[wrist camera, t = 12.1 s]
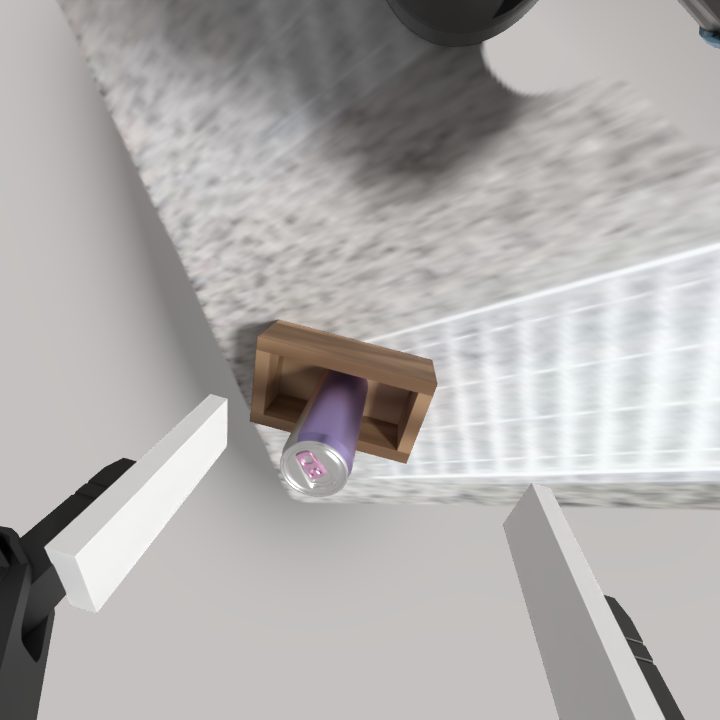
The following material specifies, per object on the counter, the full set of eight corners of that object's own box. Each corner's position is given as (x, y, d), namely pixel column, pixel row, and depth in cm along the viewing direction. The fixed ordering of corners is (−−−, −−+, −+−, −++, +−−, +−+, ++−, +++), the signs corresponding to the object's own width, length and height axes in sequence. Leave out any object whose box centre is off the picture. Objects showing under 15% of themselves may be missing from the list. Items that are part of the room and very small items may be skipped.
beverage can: (355, 353, 36) (326, 432, 23) (377, 393, 38) (362, 488, 24) (312, 371, 38) (263, 454, 24) (335, 409, 40) (301, 505, 26)
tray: (278, 319, 37) (257, 336, 31) (432, 360, 36) (437, 384, 31) (269, 395, 41) (249, 421, 36) (405, 431, 41) (406, 463, 36)
